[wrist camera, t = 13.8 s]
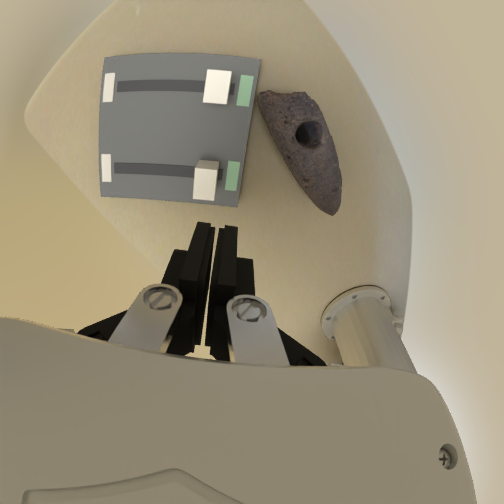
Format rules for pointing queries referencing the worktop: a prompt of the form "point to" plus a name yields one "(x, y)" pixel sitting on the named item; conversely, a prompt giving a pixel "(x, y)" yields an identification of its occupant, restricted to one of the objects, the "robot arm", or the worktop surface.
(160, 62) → the slider switch panel
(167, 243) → the worktop surface
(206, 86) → the block
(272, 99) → the perforated stone tool
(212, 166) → the block
